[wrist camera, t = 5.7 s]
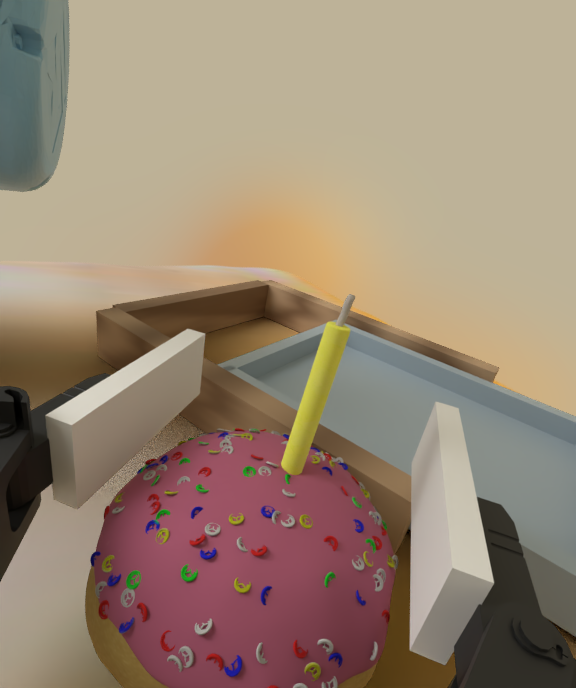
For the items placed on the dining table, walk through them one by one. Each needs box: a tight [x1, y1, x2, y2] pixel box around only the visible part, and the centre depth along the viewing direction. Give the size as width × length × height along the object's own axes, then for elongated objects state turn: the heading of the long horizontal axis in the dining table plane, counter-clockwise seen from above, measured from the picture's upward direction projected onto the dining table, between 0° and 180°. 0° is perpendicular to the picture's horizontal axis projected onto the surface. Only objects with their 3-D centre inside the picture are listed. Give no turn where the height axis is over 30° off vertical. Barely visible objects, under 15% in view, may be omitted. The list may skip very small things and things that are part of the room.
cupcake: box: [85, 294, 398, 688], centre depth 11 cm, size 9×8×12 cm
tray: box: [217, 320, 576, 637], centre depth 25 cm, size 22×15×3 cm
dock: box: [96, 280, 499, 555], centre depth 29 cm, size 24×19×4 cm
